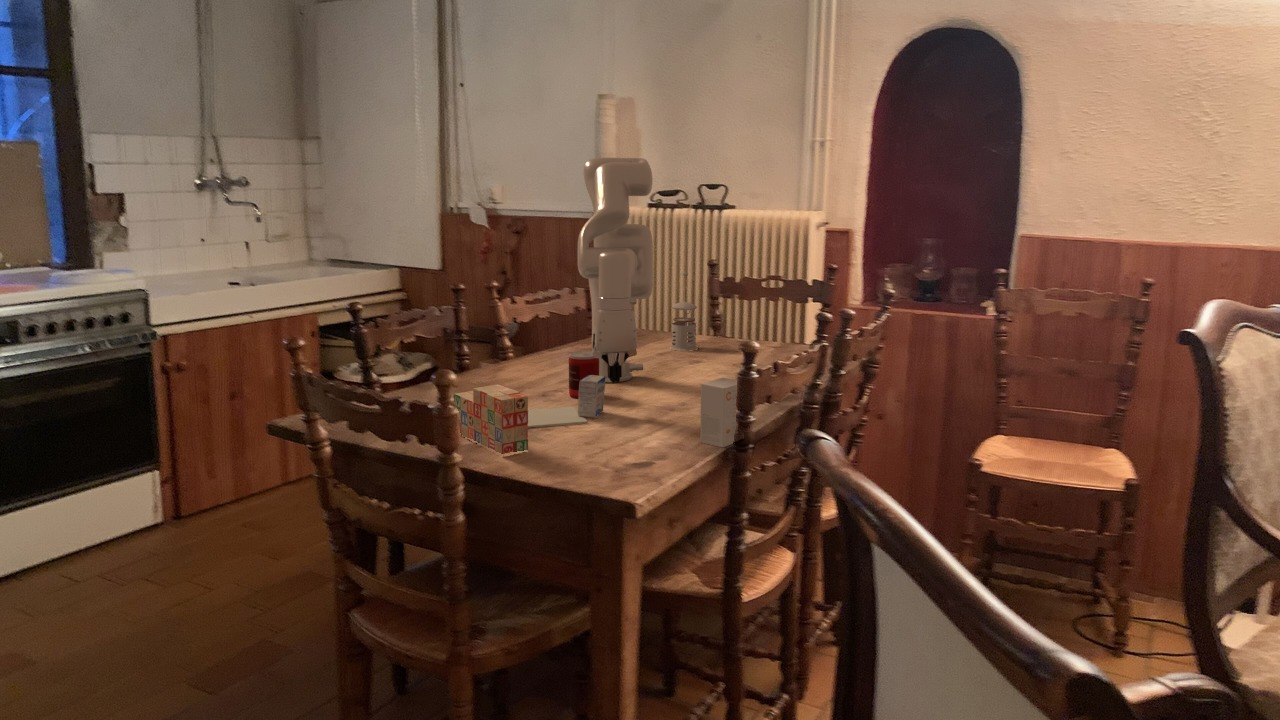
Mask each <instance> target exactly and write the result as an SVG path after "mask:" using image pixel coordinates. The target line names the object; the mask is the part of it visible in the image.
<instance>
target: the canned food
mask: <svg viewBox="0 0 1280 720" xmlns="http://www.w3.org/2000/svg"><path fill="white" fill-rule="evenodd" d="M592 353H593V352H592V350H590V351H588V350H583V351H582V350H581V351H579V350H578V351H572V352H570V353H569V354H568V395H569V397H570V398H572V399H575V400H576V399H577V400H578V399H579V384H580V381H581V380H582V379H584V378H585V377H587V376H588V375H597V376H599V358H594V357H593V356H592Z"/></svg>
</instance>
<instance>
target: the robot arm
mask: <svg viewBox="0 0 1280 720" xmlns="http://www.w3.org/2000/svg"><path fill="white" fill-rule="evenodd" d="M652 171H653V170H652V168H651V166H650V164H649V162H648V160H647V159H646V158H641V157H597V158H592V159H589V160H586V162H585V163H584V165H583V179H584V184H585V187H586V190H587V192H588V195H589V197H590V200H591V204H592V207H593V209H592V210H593V215H592V216H591V217H589V219H588V220H587V221H586V222H585V224H584V225H583V226H582V228H581V229H580V232H579V235H578V237H577V238H578V239H577V269H578V272H579V275H580V276H581V277H582V278H584V279H588V287H589V292H590V293H589V294H590V301H591V351H592V352H593V353H592V356H593V357H594V358H599V376H604V377H605V383H623V382H626V381H629V380H631V379H632V377H633V374H632V372H633V371H636V372H638V371H644V364H643V363H636V362H629V361H628V358H632V357H634V356H637V354H638V352H637V347H638V338H637V337H638V334H637V323H636V316H635V312H634V309H633V307H632V306H634V305H637V300H645V299H648V298H649V297H650V296H651V295H652V293H653V288H654V287H653V286H654V257H653V256H654V253H653V252H654V251H653V250H654V249H653V248H654V246H653V244H654V242H653V235H652V232H651V229H650V228H649V227H648V226H647V225H645V224H640V223H638V224H637V223H627V222H628V220H629V219H630V215H631V214H630V197H647V196H649V195H650V194H651V191H652V189H653V172H652ZM592 241H593V247H590V246H589V245H590V243H591V242H592Z"/></svg>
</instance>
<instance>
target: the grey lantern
mask: <svg viewBox="0 0 1280 720" xmlns="http://www.w3.org/2000/svg"><path fill="white" fill-rule="evenodd" d="M688 275H689V273H688V272H687V271H683V272H682V273H681V276H683V279H684V280H683V283H684V286H683V287H684V288H683V289H684V290H683V301H681V302H677V303H674V304H673V305H672V306H671V308H672V309H674V310H679V311H683V315H686V316H682V317H681V316H679V317H678V316H677V317H673V319H672V321H674V322H672V323H671V345H670V346H669V347H670V349H673V350H680V351H679V352H690V351H689V350H696V349H698V348H699V347H698V346H697V343H696V340H697V329H696V328H697V324H696V323H695V321H696V319H695V318H694V317H693V314H692V311H693V310H696V309H697V308H698V307H697V305H695V304H694V303H692V302H688V301H686V300H685V299H686V298H685V297H686V276H688ZM687 311H689V312H687ZM689 314H690V317H688V315H689ZM670 349H669V350H670ZM673 350H672V351H673ZM698 350H699V349H698ZM696 351H697V350H696Z"/></svg>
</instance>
